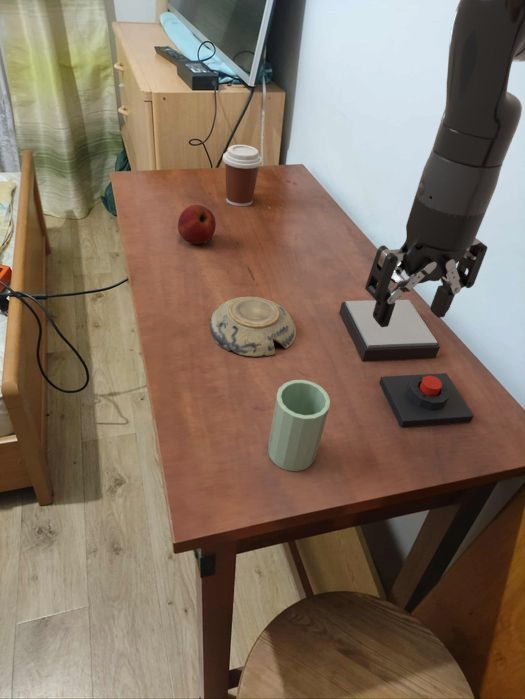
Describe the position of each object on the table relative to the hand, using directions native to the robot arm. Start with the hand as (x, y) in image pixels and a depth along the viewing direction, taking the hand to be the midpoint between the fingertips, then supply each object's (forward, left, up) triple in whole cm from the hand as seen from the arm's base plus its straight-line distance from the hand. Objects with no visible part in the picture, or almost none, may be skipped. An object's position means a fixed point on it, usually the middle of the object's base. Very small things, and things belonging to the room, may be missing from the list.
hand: (409, 318), depth 65 cm
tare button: (-7, 0, -13) cm, 15 cm away
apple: (+23, -48, -16) cm, 55 cm away
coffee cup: (+11, -68, -16) cm, 70 cm away
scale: (-7, -16, -16) cm, 23 cm away
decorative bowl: (+16, -19, -16) cm, 29 cm away
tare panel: (-7, 0, -16) cm, 17 cm away
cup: (+15, +7, -16) cm, 23 cm away
